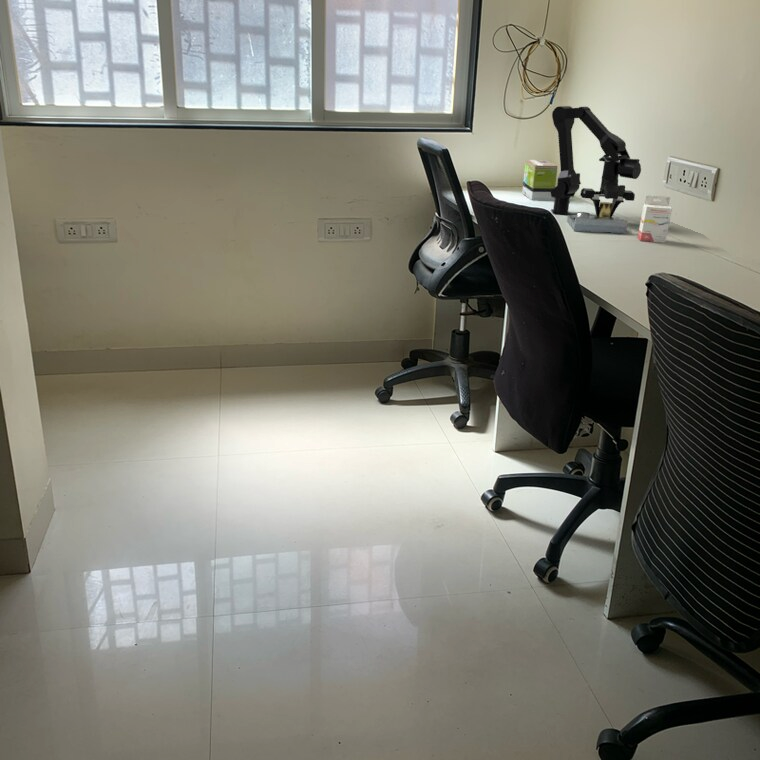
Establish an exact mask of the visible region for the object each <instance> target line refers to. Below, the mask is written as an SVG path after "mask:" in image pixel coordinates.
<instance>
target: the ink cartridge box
mask: <svg viewBox="0 0 760 760" xmlns="http://www.w3.org/2000/svg"><path fill="white" fill-rule="evenodd" d="M657 199H658V200H657ZM659 200H660V201H659ZM670 200H671V196H667V195H666V196H665V195H652V194H650V195H649V194H646V195H645V200H644V204H643V207H642V210H641V211H642V212H641V218H640V222H639V228H638V232H637V233H638V235H637V239H639V241H640V242H650V243H651V242H653V243H666V242H667V236H668V232H669V227H670V221H671V216H672V212H673V210H672V209H673V208H672V207H671V206H670Z"/></svg>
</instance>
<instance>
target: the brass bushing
mask: <svg viewBox="0 0 760 760" xmlns="http://www.w3.org/2000/svg"><path fill="white" fill-rule="evenodd" d="M611 209H612V202H610V201H600V204H599V216H600V217H610V215H611Z"/></svg>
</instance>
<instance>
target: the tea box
mask: <svg viewBox="0 0 760 760" xmlns="http://www.w3.org/2000/svg"><path fill="white" fill-rule="evenodd" d="M557 174H558V165H557V164H555V163H553V162H551V161H549V160H547V159H546V160H545V159H525V163H524V171H523V182H522V192H521V193H522V194H523V195H524V196H526V197H527V198H528V199H529V200H531V201H542V202H543V201H545V202H547V201H549V202H550V201H553V202H554V200H555V198H554V197H551V191H552V190H553V189H554V188H555V187H556V182H557V176H558V175H557Z"/></svg>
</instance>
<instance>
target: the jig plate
mask: <svg viewBox="0 0 760 760" xmlns="http://www.w3.org/2000/svg"><path fill="white" fill-rule="evenodd" d="M566 217H567V218H566V223H567V224H568V225H569V226H570V228H571V229H572V230H573V232H581V231H582V232H585V233H600V232H611V233H610V234H619V233H627V228H628V220H626V219H625V220H624V219H623V220H622V219H620V218H618V217H617V216H615V217H613V216H612V217H600V216H596V215H595V216H594V215H589V218H577V214H567V216H566ZM589 231H590V232H589Z"/></svg>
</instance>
